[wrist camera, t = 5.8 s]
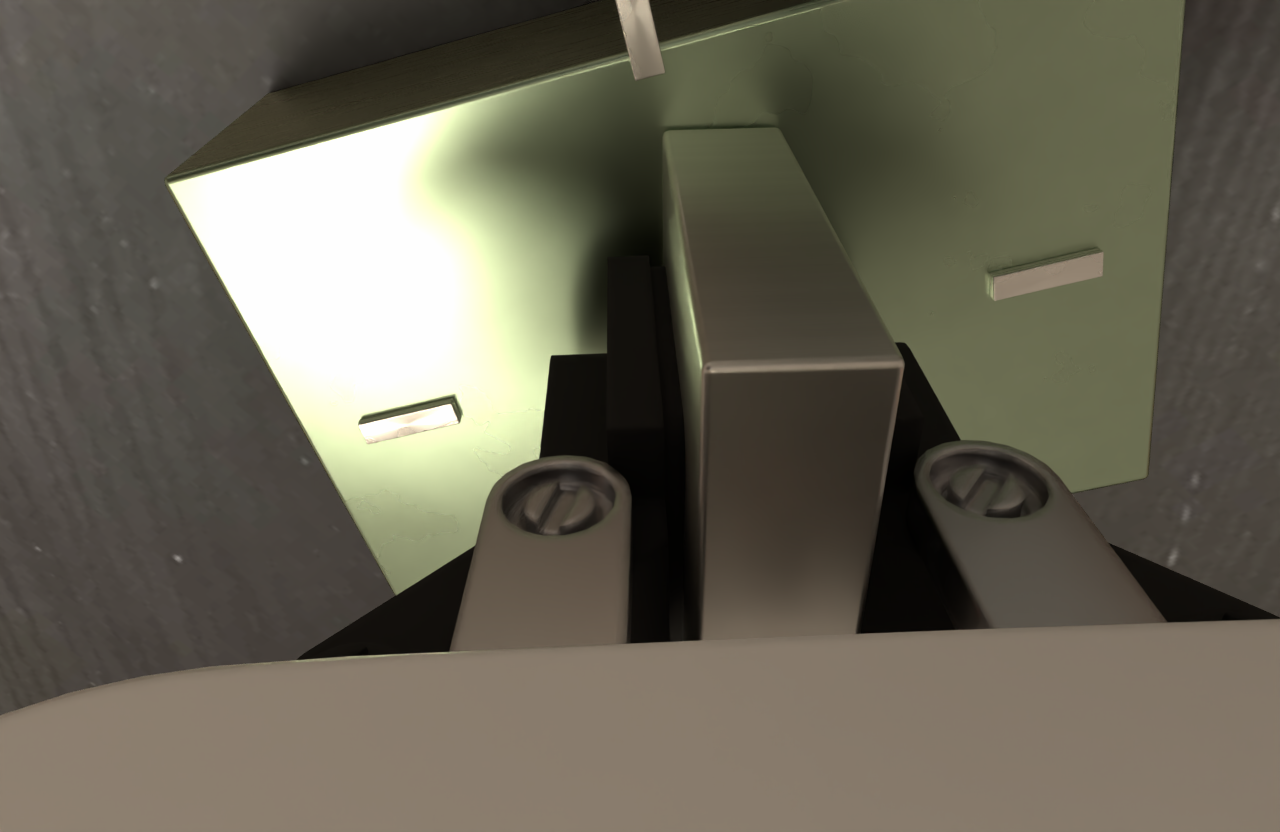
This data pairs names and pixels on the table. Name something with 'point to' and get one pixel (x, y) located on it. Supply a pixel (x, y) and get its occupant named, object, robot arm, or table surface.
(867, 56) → the green metallic block stand
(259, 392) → the table surface
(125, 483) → the table surface
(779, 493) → the silver plate red tip
